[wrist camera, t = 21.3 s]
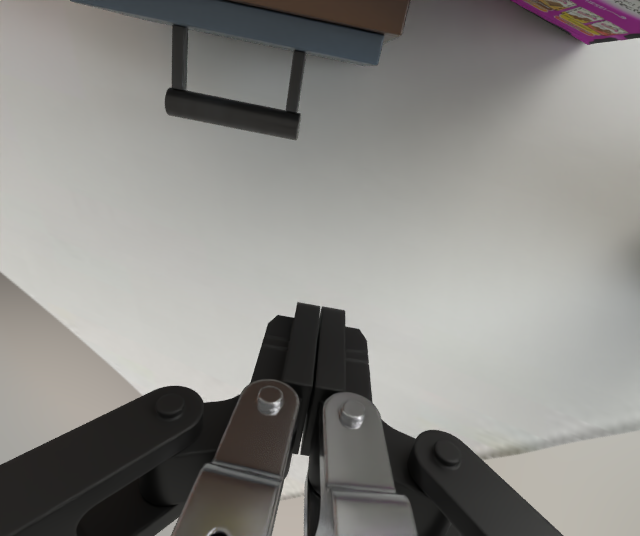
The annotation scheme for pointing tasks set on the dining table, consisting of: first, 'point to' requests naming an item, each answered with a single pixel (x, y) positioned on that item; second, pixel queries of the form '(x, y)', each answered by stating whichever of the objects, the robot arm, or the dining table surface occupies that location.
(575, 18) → the candy bar box
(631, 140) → the dining table surface
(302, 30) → the drawer
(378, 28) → the cabinet
